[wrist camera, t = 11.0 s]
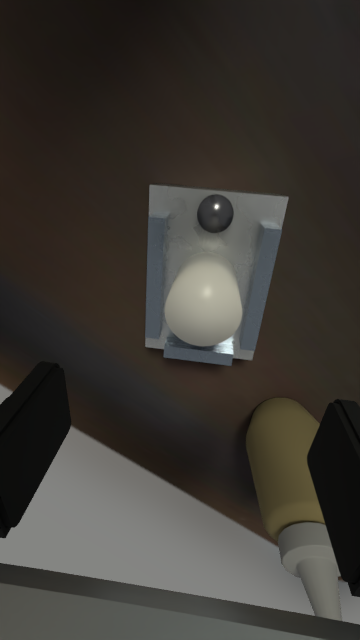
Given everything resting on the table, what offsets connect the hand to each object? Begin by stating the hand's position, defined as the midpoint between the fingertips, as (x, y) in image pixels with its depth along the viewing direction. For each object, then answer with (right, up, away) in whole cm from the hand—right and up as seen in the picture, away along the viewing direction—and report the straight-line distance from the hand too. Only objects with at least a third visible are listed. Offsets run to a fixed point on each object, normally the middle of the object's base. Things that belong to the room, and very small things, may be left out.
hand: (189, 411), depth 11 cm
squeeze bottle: (+11, -8, +23) cm, 27 cm away
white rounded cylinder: (+2, +6, +14) cm, 15 cm away
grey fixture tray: (+2, +8, +17) cm, 18 cm away
